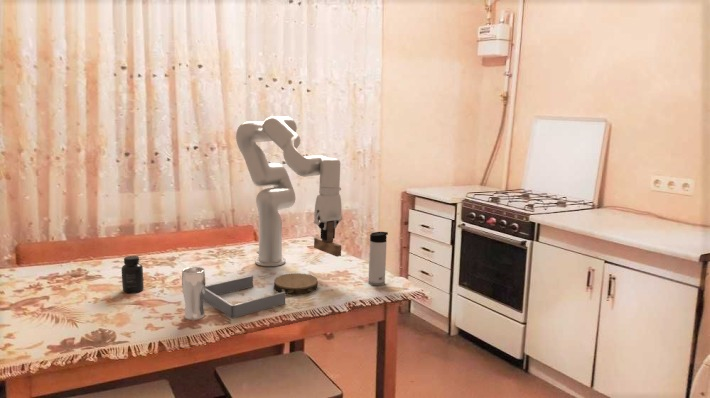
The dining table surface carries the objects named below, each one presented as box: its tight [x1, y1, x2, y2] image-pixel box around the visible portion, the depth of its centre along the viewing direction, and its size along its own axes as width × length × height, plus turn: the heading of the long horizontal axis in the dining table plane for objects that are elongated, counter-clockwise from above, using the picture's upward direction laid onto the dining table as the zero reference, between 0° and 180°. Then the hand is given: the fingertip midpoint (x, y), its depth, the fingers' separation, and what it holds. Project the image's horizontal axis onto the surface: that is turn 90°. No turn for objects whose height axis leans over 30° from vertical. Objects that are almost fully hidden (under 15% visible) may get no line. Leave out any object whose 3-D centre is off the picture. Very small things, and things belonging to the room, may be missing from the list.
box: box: [203, 275, 286, 319], centre depth 174 cm, size 22×20×4 cm
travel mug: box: [367, 231, 389, 287], centre depth 194 cm, size 6×7×20 cm
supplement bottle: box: [121, 255, 145, 294], centre depth 180 cm, size 7×7×12 cm
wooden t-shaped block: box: [313, 221, 342, 257], centre depth 196 cm, size 14×3×12 cm, turn 42°
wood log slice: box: [273, 272, 319, 296], centre depth 188 cm, size 16×16×3 cm
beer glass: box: [181, 266, 206, 321], centre depth 159 cm, size 7×7×15 cm
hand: (327, 238), depth 196 cm, fingers closed on wooden t-shaped block, 3 cm apart
